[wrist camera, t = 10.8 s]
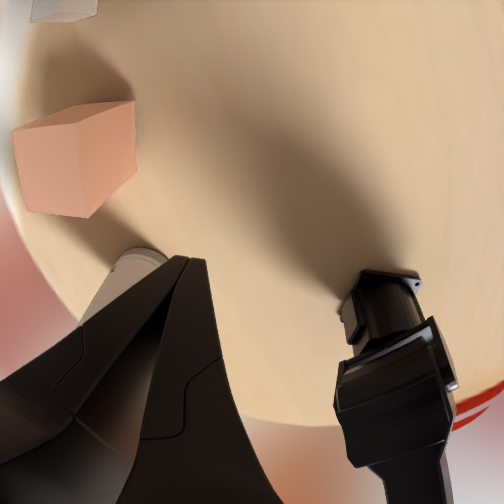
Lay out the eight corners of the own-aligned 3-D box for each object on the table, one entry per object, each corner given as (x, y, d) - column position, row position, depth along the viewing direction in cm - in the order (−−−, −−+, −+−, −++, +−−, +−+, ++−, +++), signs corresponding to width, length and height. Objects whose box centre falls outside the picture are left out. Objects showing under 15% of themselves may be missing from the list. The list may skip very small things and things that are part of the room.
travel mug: (108, 245, 24) (-3, 442, 8) (172, 246, 24) (74, 491, 8) (127, 294, 28) (52, 472, 12) (185, 299, 27) (125, 506, 11)
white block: (100, -15, 11) (63, -23, 7) (96, 15, 12) (57, 11, 9) (73, -6, 11) (34, -10, 7) (69, 22, 12) (29, 22, 9)
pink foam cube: (135, 100, 16) (75, 123, 10) (137, 171, 19) (88, 218, 14) (75, 105, 16) (11, 131, 10) (80, 169, 19) (27, 211, 14)
